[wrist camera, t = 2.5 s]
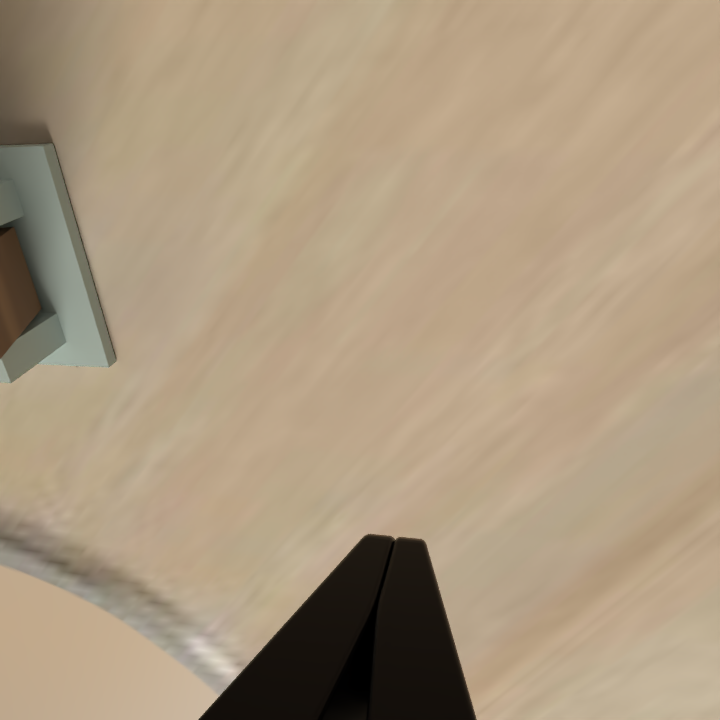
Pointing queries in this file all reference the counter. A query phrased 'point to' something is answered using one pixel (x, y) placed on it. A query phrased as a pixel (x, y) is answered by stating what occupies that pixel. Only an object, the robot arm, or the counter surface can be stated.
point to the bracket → (50, 266)
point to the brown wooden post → (14, 290)
